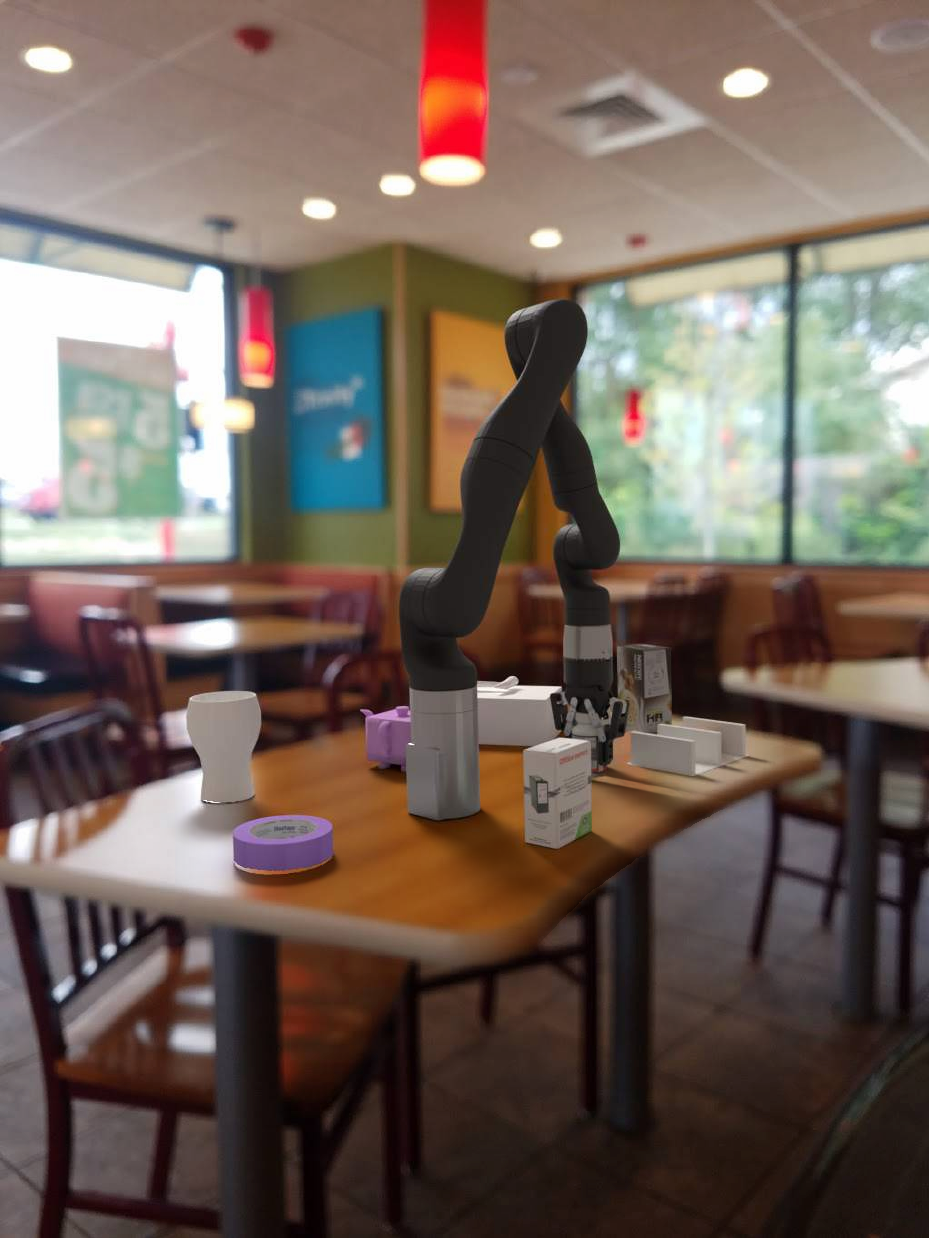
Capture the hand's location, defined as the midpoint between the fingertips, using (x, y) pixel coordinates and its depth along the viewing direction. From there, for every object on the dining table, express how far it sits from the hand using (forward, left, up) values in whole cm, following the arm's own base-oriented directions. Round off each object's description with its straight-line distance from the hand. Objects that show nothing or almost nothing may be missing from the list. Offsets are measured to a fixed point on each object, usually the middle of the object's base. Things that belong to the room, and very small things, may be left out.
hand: (589, 761), depth 150 cm
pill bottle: (0, 0, -2) cm, 2 cm away
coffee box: (+31, +11, -2) cm, 33 cm away
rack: (+14, -9, -2) cm, 17 cm away
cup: (-44, +33, -2) cm, 55 cm away
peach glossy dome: (+18, -9, -1) cm, 20 cm away
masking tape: (-54, +4, -2) cm, 54 cm away
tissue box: (+11, +32, -3) cm, 34 cm away
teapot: (-14, +27, -2) cm, 30 cm away
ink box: (-27, -16, -2) cm, 31 cm away
